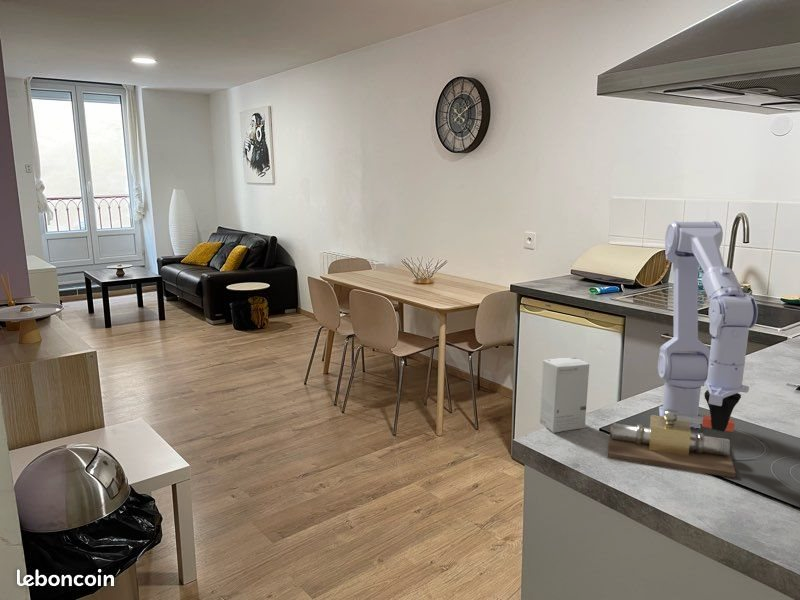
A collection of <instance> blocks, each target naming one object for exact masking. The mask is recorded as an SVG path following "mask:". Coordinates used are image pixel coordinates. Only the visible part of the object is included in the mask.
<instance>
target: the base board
mask: <svg viewBox="0 0 800 600" xmlns="http://www.w3.org/2000/svg"><path fill="white" fill-rule="evenodd" d="M612 432H613V423H612V424H610V431H609V440H608V446H607V447H608V449H607V458H608V459H615V460H621V461H626V462H627V461H628V462H634V463H640V464H644V465H651V466H656V467H657V466H658V467H663V468H670V469H677V470H682V471H683V470H684V471H689V472H695V473H696V472H697V473H701V474H707V475H708V474H709V475H713V476H714V475H715V476H719V475H722V476H721V477H725V476H727V478H731V477H734V478H733V479H735V478H736V470H735V466H734V464H733V460H732V456H731V454H730V452H729V456H723V455H716V454H709V453H702V454H697V453H696V451H689V456H683V455H677V454H670V453H664V452H657V451H651V450H649V444H642V443H641V445H637V444H636V442H629V441H622V440H616V439H612Z"/></svg>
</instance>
